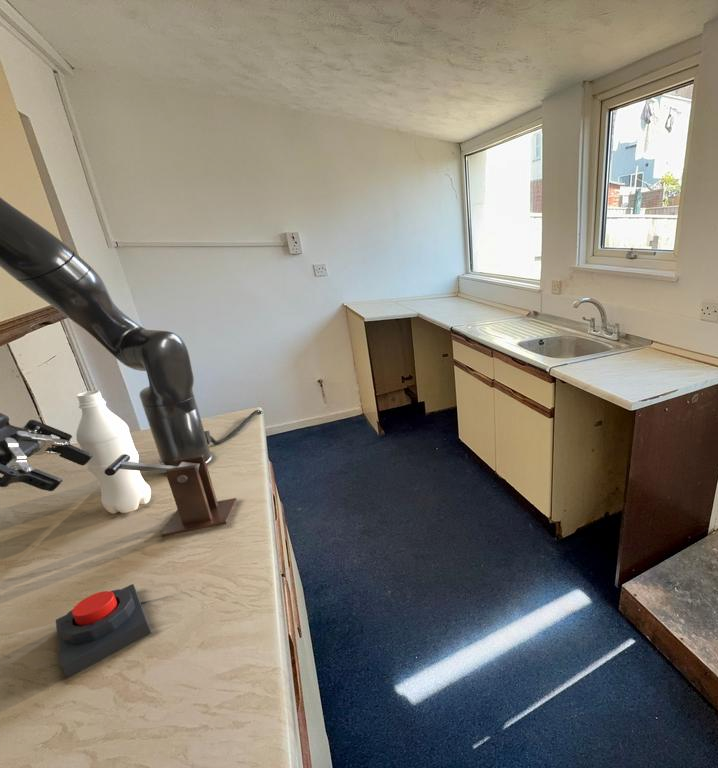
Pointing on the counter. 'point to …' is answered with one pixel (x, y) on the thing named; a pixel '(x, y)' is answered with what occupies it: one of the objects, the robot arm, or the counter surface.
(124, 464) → the lever
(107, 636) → the control block
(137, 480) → the water bottle
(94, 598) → the button
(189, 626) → the counter surface
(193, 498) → the bracket
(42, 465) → the counter surface
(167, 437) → the robot arm
